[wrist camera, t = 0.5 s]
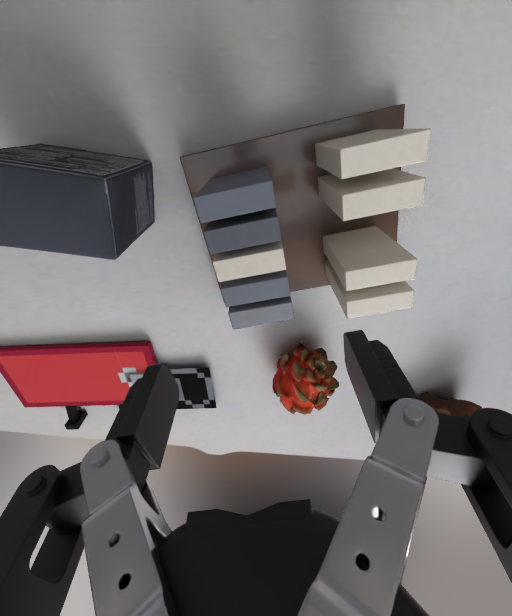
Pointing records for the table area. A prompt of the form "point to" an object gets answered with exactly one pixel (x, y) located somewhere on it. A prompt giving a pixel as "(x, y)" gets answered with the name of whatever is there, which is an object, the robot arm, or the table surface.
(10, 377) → the red board with handle
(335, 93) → the table surface
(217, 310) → the table surface
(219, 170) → the board
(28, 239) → the small box
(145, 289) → the table surface
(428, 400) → the decorative turtle
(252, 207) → the grey books
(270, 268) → the cream thin block
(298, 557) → the robot arm
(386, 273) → the white books
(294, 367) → the dragon fruit
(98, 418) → the table surface
